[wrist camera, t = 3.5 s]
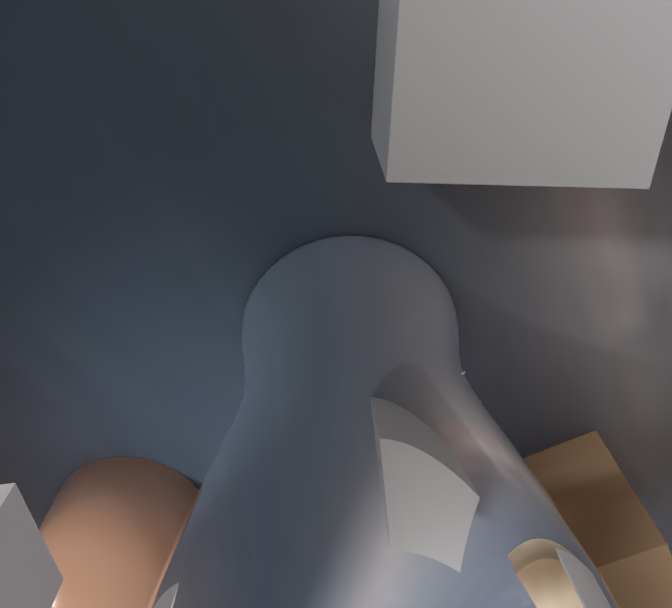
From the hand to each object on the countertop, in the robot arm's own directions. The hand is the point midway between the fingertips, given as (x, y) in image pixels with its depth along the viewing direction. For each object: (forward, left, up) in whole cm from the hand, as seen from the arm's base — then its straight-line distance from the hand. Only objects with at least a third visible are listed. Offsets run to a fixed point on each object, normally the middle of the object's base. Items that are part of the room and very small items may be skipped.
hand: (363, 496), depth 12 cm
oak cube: (+6, -7, -6) cm, 11 cm away
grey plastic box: (+4, +8, -6) cm, 11 cm away
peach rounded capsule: (-8, -6, -6) cm, 12 cm away
